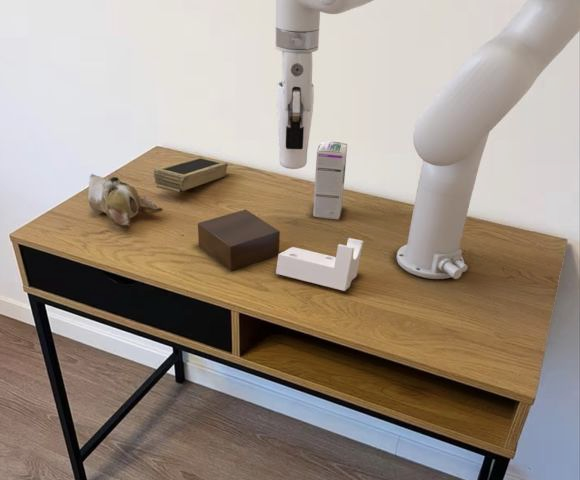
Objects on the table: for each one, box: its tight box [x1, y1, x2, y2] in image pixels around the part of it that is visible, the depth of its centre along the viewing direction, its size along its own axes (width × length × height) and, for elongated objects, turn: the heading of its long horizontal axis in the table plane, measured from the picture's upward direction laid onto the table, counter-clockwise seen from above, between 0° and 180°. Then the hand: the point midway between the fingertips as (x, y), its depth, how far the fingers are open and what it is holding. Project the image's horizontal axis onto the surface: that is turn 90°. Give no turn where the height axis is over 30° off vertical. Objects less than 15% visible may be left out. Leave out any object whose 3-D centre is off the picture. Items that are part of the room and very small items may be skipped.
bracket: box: [275, 237, 364, 292], centre depth 113 cm, size 13×7×8 cm, turn 68°
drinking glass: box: [276, 80, 315, 170], centre depth 119 cm, size 7×7×15 cm
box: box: [153, 155, 229, 194], centre depth 144 cm, size 8×22×5 cm, turn 156°
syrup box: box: [312, 140, 348, 220], centre depth 132 cm, size 6×6×14 cm
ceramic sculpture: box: [87, 173, 164, 228], centre depth 127 cm, size 11×9×15 cm
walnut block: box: [197, 208, 281, 272], centre depth 120 cm, size 11×11×5 cm
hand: (293, 141), depth 121 cm, fingers closed on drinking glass, 5 cm apart
